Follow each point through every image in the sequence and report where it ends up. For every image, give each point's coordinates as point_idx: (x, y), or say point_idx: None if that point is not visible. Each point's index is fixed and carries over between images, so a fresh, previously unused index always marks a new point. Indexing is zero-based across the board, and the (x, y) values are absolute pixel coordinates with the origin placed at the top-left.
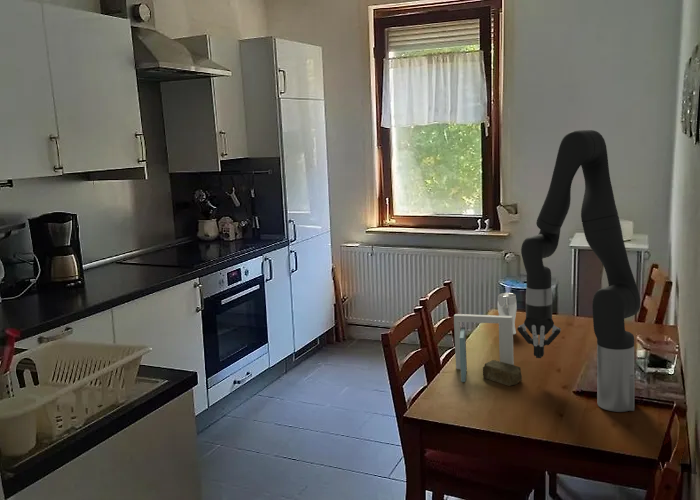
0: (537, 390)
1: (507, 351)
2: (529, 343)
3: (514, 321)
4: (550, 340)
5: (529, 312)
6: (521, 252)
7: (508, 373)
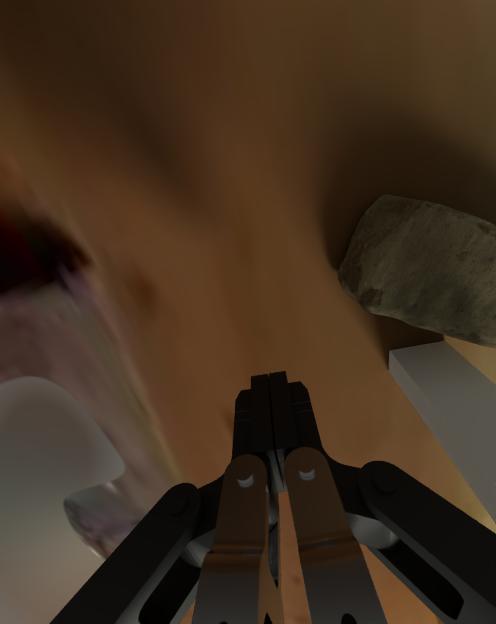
0: (234, 198)
1: (481, 425)
2: (375, 465)
3: (439, 621)
4: (135, 553)
5: None
6: None
7: (430, 202)
